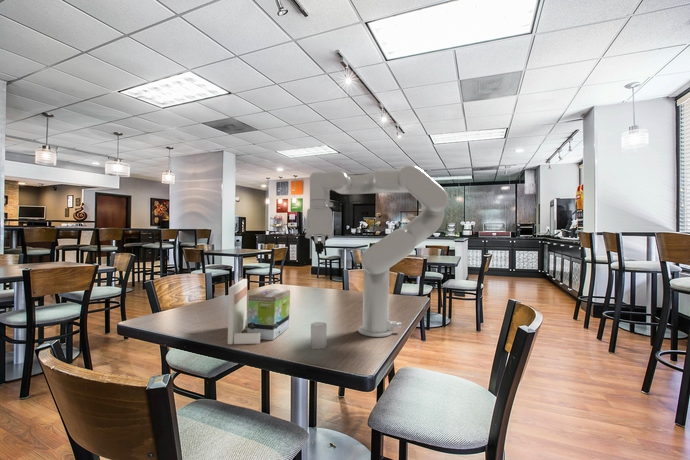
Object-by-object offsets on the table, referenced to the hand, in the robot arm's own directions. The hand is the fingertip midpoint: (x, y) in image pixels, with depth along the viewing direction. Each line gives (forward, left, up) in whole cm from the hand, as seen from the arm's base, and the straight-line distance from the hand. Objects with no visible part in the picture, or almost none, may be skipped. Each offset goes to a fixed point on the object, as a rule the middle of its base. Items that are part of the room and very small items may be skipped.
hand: (319, 253), depth 123 cm
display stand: (+23, +5, -28) cm, 37 cm away
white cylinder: (0, +19, -28) cm, 34 cm away
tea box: (+18, +4, -29) cm, 34 cm away
